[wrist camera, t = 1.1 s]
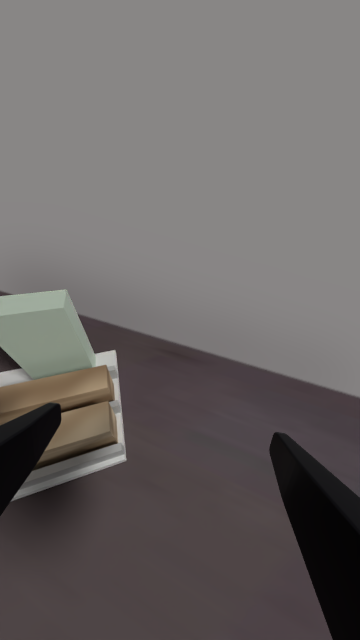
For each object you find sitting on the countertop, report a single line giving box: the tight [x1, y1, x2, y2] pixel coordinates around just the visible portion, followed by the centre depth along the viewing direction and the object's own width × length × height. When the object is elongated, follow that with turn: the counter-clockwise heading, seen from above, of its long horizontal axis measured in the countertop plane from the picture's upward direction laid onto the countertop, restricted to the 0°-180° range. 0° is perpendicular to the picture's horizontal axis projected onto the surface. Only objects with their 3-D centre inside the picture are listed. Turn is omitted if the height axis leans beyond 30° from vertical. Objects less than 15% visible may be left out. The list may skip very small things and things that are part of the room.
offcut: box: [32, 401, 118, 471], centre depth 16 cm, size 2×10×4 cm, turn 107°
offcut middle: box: [0, 365, 115, 425], centre depth 19 cm, size 2×10×4 cm, turn 107°
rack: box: [0, 350, 126, 502], centre depth 19 cm, size 13×16×3 cm
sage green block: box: [0, 290, 96, 380], centre depth 19 cm, size 2×6×11 cm, turn 107°
